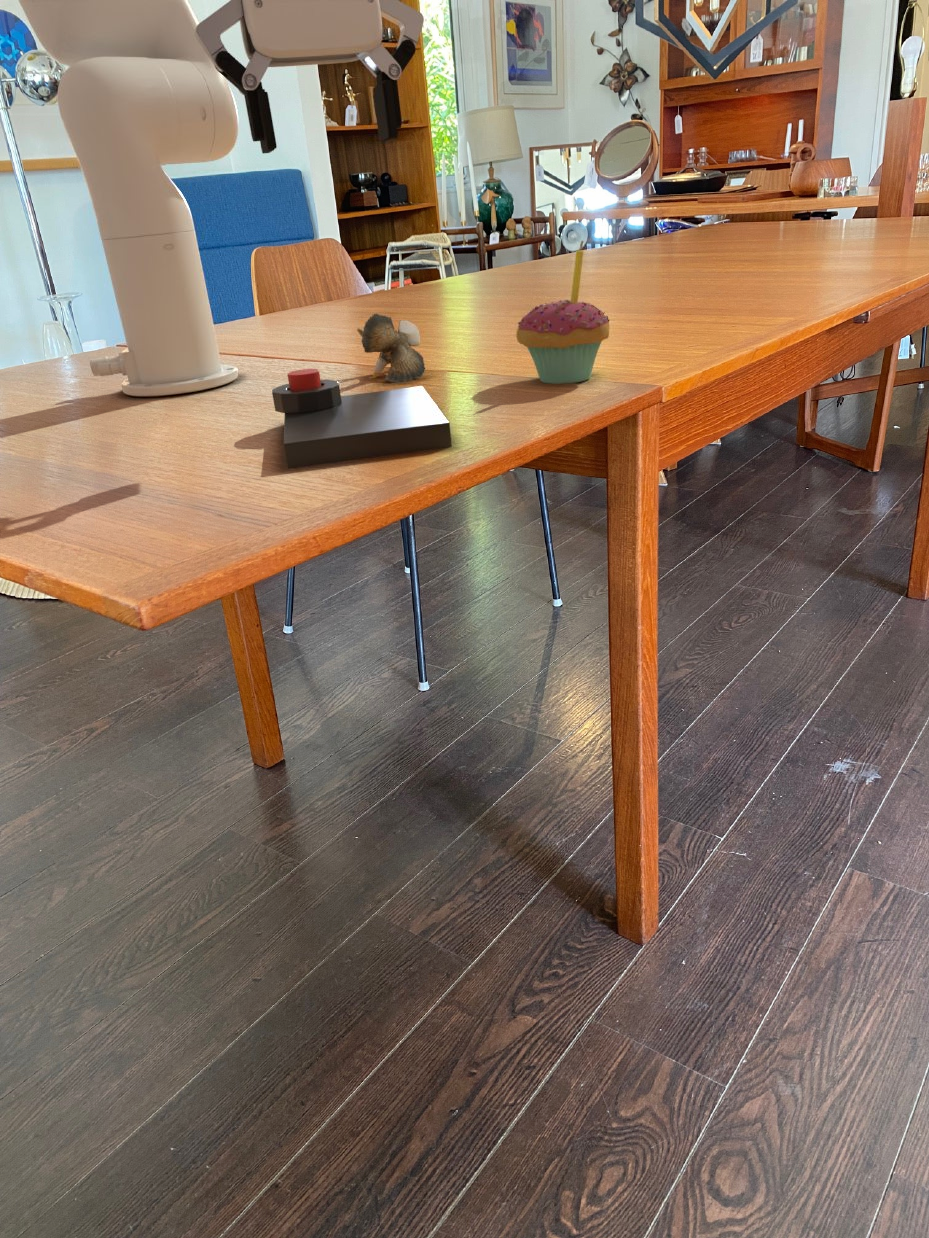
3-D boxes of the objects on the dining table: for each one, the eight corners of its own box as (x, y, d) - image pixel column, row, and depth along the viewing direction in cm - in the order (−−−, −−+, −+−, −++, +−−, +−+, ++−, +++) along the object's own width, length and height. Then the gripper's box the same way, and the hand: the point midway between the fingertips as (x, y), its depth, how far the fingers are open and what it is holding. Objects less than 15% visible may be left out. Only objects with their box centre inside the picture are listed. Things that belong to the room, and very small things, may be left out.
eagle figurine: (342, 364, 98) (346, 360, 89) (369, 302, 97) (376, 292, 88) (405, 396, 100) (416, 395, 91) (432, 335, 99) (446, 329, 90)
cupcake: (608, 367, 89) (605, 235, 84) (612, 385, 81) (610, 241, 76) (521, 374, 90) (513, 244, 85) (517, 392, 82) (508, 250, 77)
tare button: (290, 395, 74) (287, 376, 73) (290, 389, 76) (287, 371, 75) (322, 391, 74) (319, 372, 73) (321, 386, 76) (318, 367, 76)
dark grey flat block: (277, 471, 65) (268, 422, 63) (279, 425, 79) (272, 384, 77) (452, 448, 66) (447, 400, 65) (424, 407, 80) (420, 366, 79)
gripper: (392, -108, 70) (420, 141, 77) (162, -104, 65) (214, 160, 72) (421, -145, 63) (448, 131, 70) (168, -144, 59) (224, 151, 66)
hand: (330, 146), depth 71 cm, fingers open, 9 cm apart
